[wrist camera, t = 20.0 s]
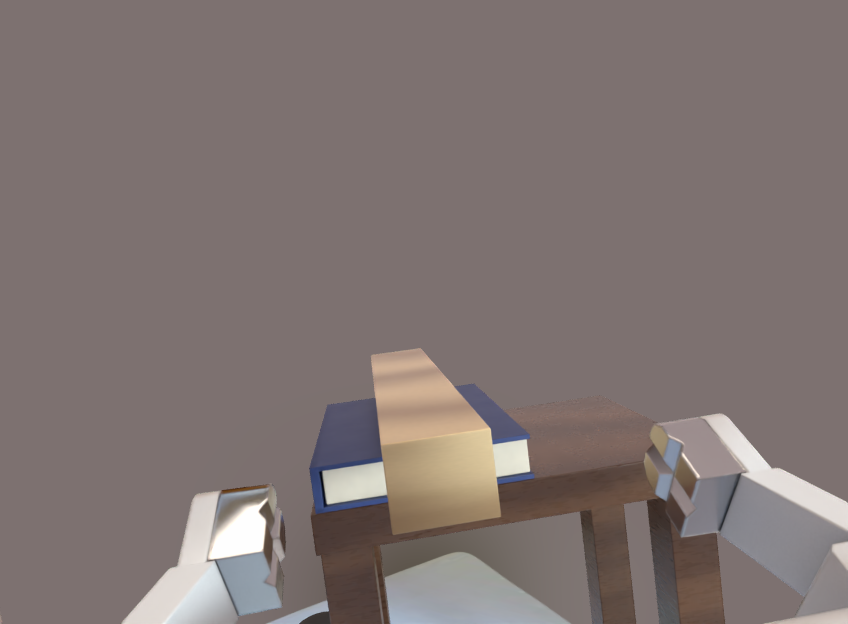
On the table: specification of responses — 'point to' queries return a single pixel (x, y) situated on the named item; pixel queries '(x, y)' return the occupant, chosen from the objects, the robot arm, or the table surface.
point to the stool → (542, 497)
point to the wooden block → (431, 446)
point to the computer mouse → (318, 619)
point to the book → (362, 457)
